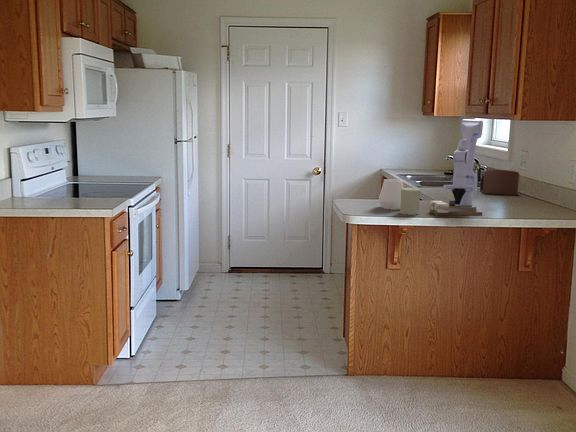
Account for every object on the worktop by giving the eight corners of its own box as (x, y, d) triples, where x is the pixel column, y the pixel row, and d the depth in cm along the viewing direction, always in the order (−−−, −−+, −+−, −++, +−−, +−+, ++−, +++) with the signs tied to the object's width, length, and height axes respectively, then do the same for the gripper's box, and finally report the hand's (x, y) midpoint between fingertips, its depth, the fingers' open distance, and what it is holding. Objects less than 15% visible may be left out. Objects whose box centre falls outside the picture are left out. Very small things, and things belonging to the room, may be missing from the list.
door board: (429, 212, 310) (430, 200, 309) (472, 211, 314) (473, 200, 313) (438, 215, 301) (438, 204, 300) (482, 215, 304) (483, 203, 303)
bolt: (433, 209, 307) (434, 200, 306) (453, 209, 308) (454, 200, 308) (436, 210, 304) (436, 201, 303) (456, 210, 306) (456, 201, 305)
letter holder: (517, 195, 372) (519, 170, 369) (482, 193, 374) (484, 169, 372) (514, 192, 381) (516, 168, 379) (479, 191, 384) (481, 167, 381)
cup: (402, 211, 311) (404, 182, 308) (375, 209, 315) (376, 180, 313) (407, 207, 323) (409, 179, 321) (381, 204, 328) (382, 177, 325)
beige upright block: (406, 215, 301) (408, 189, 298) (395, 211, 309) (397, 187, 307) (423, 214, 304) (424, 189, 302) (412, 210, 312) (413, 186, 310)
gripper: (448, 177, 299) (446, 206, 302) (477, 177, 302) (475, 205, 304) (442, 175, 306) (440, 203, 308) (471, 175, 308) (469, 203, 311)
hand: (457, 204), depth 307 cm, fingers closed
